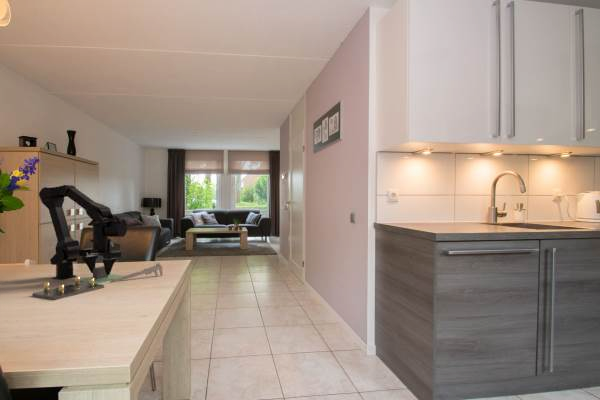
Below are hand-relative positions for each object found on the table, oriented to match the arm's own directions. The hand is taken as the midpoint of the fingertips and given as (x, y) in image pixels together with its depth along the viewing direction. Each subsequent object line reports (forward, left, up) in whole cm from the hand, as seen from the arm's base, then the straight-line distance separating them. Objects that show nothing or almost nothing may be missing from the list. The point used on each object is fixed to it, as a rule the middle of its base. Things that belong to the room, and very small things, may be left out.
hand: (100, 274), depth 146 cm
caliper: (+13, +7, -3) cm, 15 cm away
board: (0, 0, -3) cm, 3 cm away
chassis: (+8, -18, -2) cm, 20 cm away
